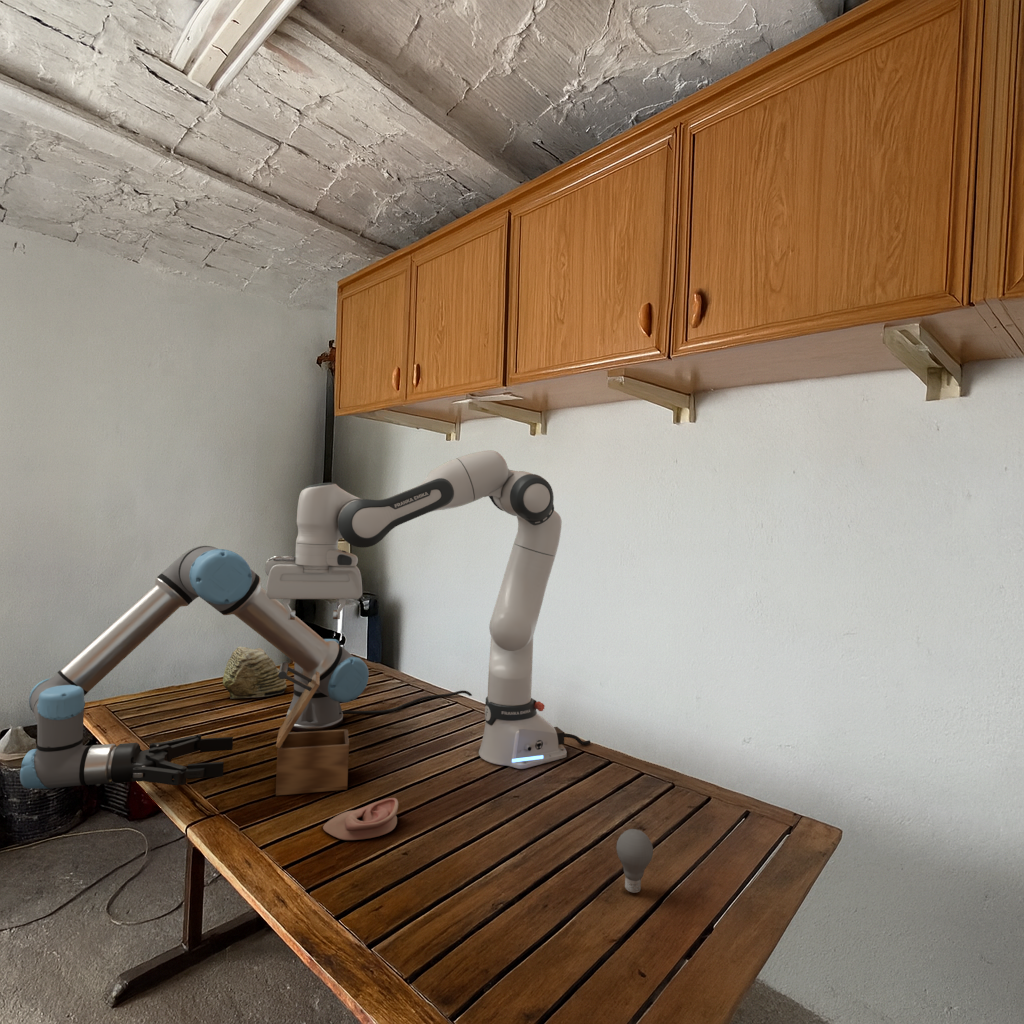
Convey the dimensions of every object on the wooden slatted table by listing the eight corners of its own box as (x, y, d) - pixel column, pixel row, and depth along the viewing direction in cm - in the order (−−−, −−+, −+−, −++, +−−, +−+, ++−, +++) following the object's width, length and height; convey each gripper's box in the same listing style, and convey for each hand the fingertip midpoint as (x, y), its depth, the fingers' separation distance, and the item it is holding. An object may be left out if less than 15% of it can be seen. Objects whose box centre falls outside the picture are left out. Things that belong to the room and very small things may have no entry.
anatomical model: (315, 814, 118) (343, 787, 129) (314, 835, 118) (343, 807, 129) (382, 825, 115) (405, 796, 127) (381, 846, 116) (404, 816, 127)
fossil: (218, 695, 195) (220, 647, 195) (278, 685, 208) (279, 640, 207) (228, 703, 189) (230, 653, 188) (289, 692, 201) (290, 645, 201)
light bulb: (610, 879, 108) (613, 822, 108) (644, 879, 109) (647, 822, 109) (619, 902, 102) (622, 840, 102) (655, 901, 103) (658, 840, 103)
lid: (319, 672, 144) (286, 655, 142) (319, 685, 135) (284, 666, 133) (282, 731, 142) (247, 714, 140) (279, 748, 133) (242, 730, 131)
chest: (345, 770, 147) (347, 729, 147) (347, 789, 138) (349, 745, 137) (278, 776, 143) (280, 733, 142) (275, 795, 133) (277, 749, 133)
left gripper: (132, 757, 141) (235, 750, 147) (92, 811, 117) (218, 800, 123) (133, 723, 141) (236, 718, 147) (94, 771, 117) (219, 762, 123)
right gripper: (264, 556, 133) (262, 622, 133) (364, 558, 139) (361, 621, 139) (267, 554, 139) (264, 616, 139) (362, 555, 145) (360, 615, 145)
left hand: (228, 755), depth 135 cm, fingers open, 13 cm apart
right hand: (314, 619), depth 139 cm, fingers open, 8 cm apart
